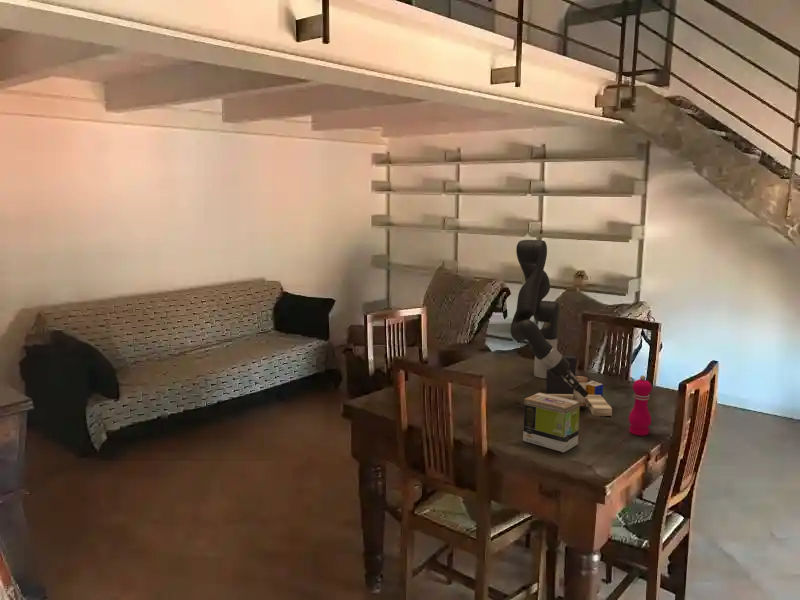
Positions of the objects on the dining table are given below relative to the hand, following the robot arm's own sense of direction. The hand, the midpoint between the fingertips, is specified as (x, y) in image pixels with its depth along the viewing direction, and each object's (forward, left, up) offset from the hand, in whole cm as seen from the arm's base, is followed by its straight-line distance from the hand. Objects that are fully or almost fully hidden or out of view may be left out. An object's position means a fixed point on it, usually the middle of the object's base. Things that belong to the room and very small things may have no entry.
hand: (584, 393), depth 246 cm
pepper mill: (+23, +13, -6) cm, 27 cm away
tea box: (+34, -19, -6) cm, 39 cm away
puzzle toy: (-15, +7, -6) cm, 18 cm away
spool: (0, -2, -4) cm, 5 cm away
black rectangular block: (-20, -5, -6) cm, 22 cm away
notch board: (0, -2, -6) cm, 6 cm away
